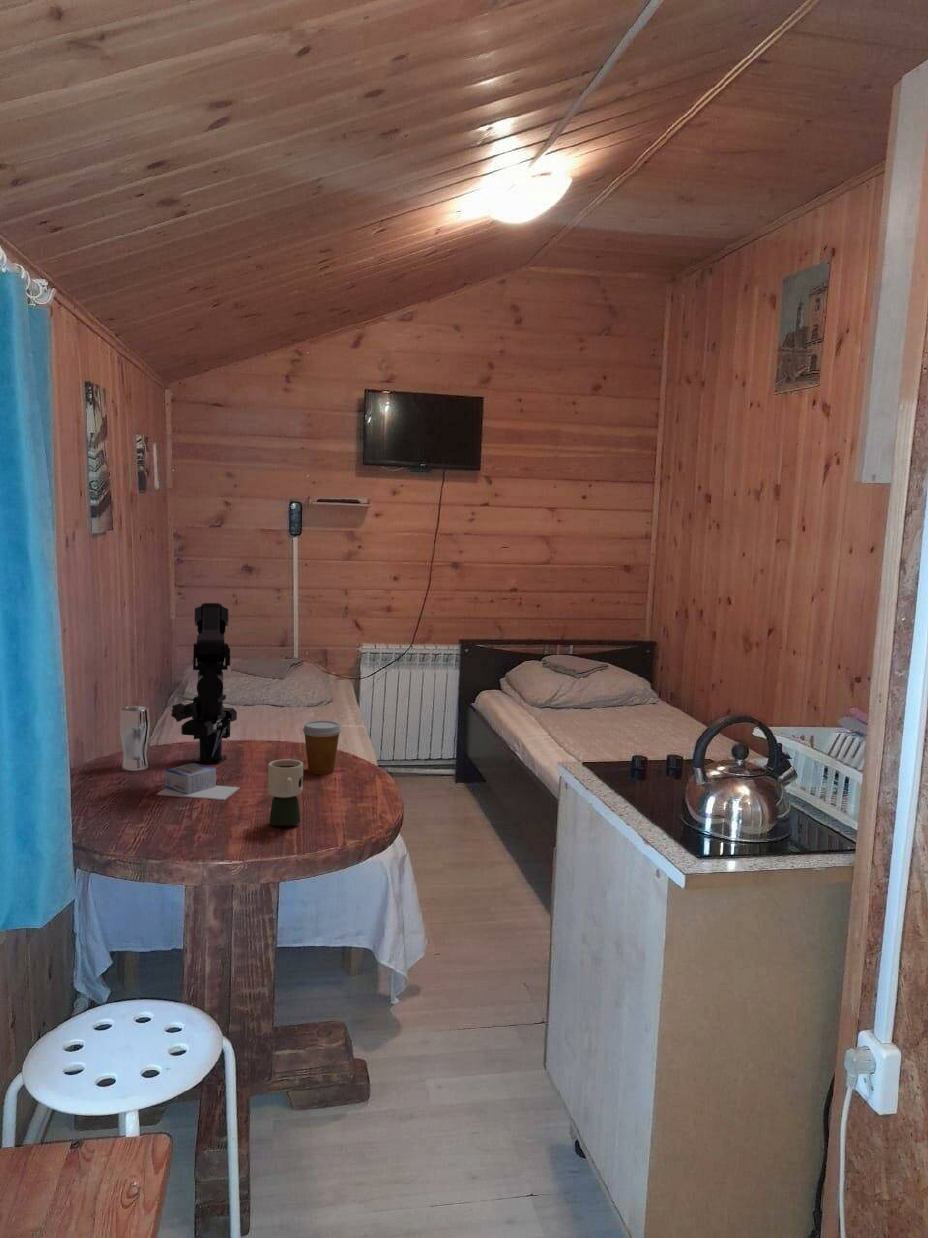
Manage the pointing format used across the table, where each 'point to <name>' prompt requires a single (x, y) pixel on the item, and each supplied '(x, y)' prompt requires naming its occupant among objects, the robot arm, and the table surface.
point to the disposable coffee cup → (321, 745)
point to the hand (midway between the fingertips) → (209, 757)
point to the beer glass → (134, 736)
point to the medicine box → (190, 778)
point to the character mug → (285, 791)
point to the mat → (204, 793)
